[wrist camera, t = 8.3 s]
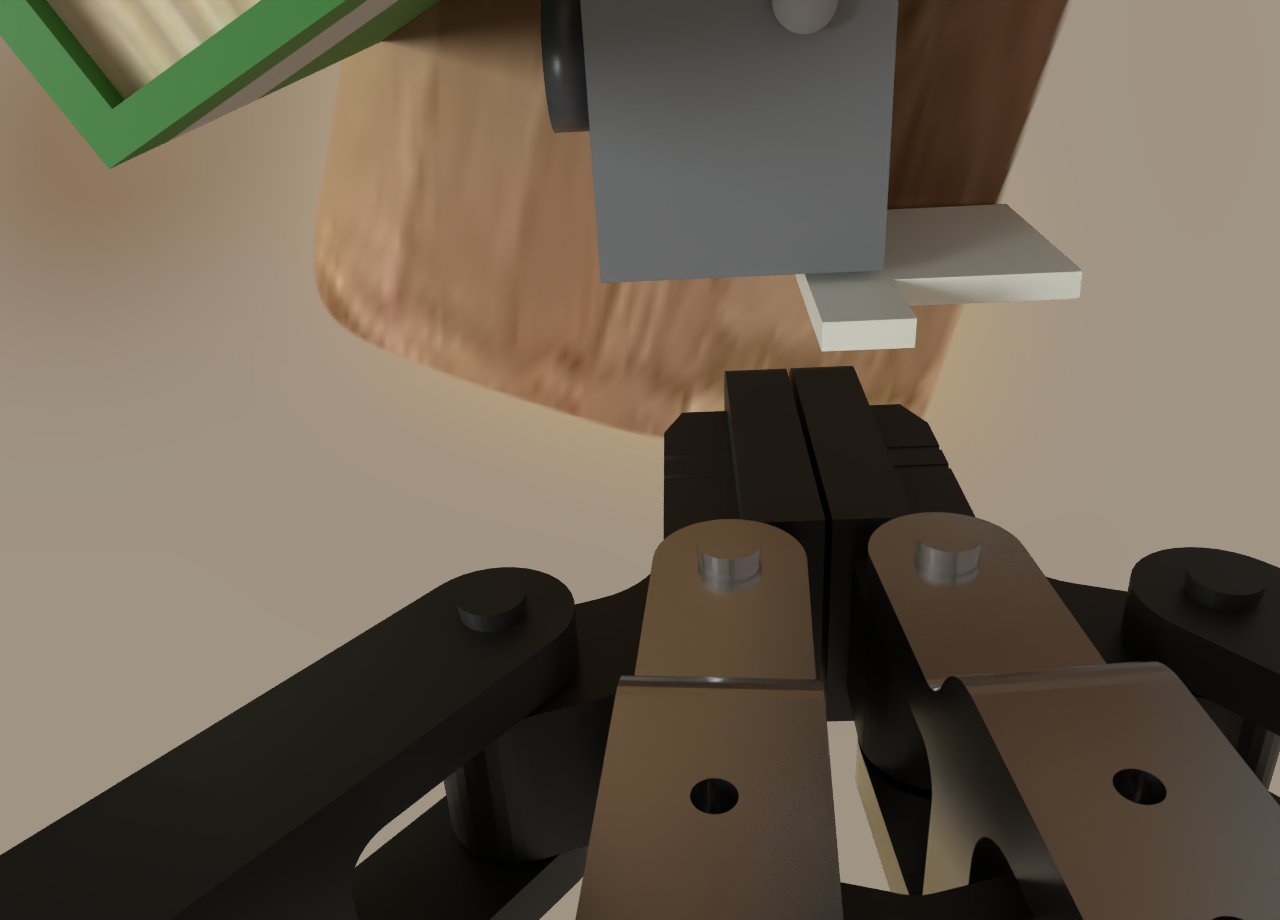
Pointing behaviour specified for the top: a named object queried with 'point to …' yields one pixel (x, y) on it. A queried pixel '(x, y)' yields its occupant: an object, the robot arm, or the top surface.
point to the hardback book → (182, 57)
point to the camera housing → (729, 131)
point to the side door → (936, 274)
